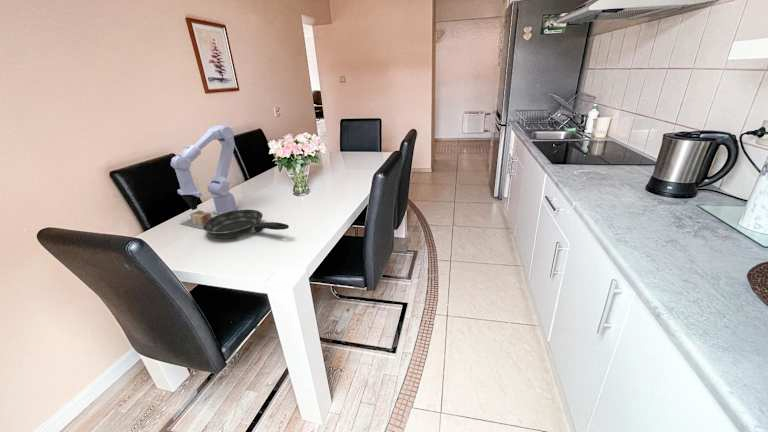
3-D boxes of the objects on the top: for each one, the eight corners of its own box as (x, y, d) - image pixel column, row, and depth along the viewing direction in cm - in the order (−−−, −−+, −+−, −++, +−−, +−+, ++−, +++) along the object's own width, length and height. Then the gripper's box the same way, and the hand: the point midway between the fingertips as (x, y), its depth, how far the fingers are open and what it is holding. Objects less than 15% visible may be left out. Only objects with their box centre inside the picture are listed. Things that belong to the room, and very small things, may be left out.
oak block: (199, 210, 154) (210, 212, 150) (201, 218, 155) (212, 221, 152) (189, 214, 150) (200, 216, 146) (192, 222, 151) (203, 225, 148)
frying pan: (192, 237, 138) (188, 223, 135) (238, 215, 159) (235, 203, 156) (267, 255, 121) (264, 240, 118) (307, 229, 141) (305, 215, 139)
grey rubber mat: (200, 215, 160) (200, 214, 160) (225, 220, 153) (225, 220, 153) (180, 224, 151) (180, 223, 151) (205, 230, 144) (204, 229, 144)
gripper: (167, 183, 145) (176, 210, 151) (188, 186, 139) (196, 214, 145) (182, 178, 151) (190, 204, 156) (202, 181, 145) (210, 208, 151)
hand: (194, 209), depth 151 cm, fingers closed
